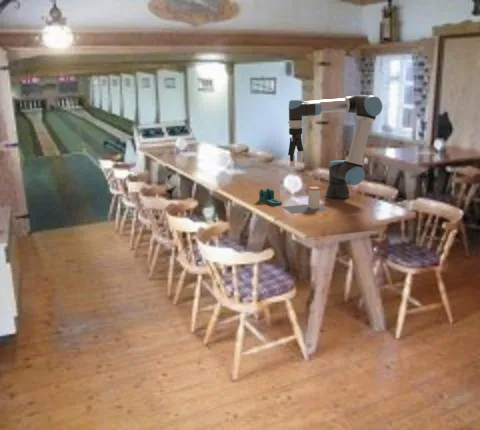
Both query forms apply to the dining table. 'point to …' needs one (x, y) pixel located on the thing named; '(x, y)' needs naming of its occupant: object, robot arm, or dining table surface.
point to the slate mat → (302, 209)
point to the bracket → (268, 197)
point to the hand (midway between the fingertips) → (295, 164)
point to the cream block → (314, 197)
